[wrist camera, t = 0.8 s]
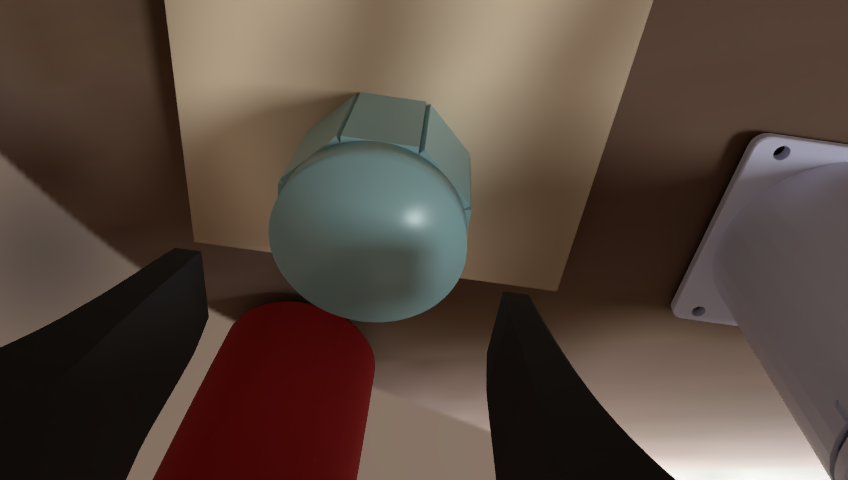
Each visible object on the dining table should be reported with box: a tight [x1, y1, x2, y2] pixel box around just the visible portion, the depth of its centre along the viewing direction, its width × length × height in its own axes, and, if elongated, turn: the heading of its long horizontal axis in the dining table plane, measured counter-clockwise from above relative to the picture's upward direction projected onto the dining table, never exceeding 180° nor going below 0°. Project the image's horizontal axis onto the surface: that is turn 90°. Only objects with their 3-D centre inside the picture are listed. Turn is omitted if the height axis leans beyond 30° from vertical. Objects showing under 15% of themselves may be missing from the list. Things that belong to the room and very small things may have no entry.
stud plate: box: [164, 0, 653, 291], centre depth 16 cm, size 14×18×4 cm
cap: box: [268, 92, 472, 322], centre depth 17 cm, size 6×6×4 cm
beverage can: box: [153, 301, 375, 480], centre depth 21 cm, size 7×7×12 cm
